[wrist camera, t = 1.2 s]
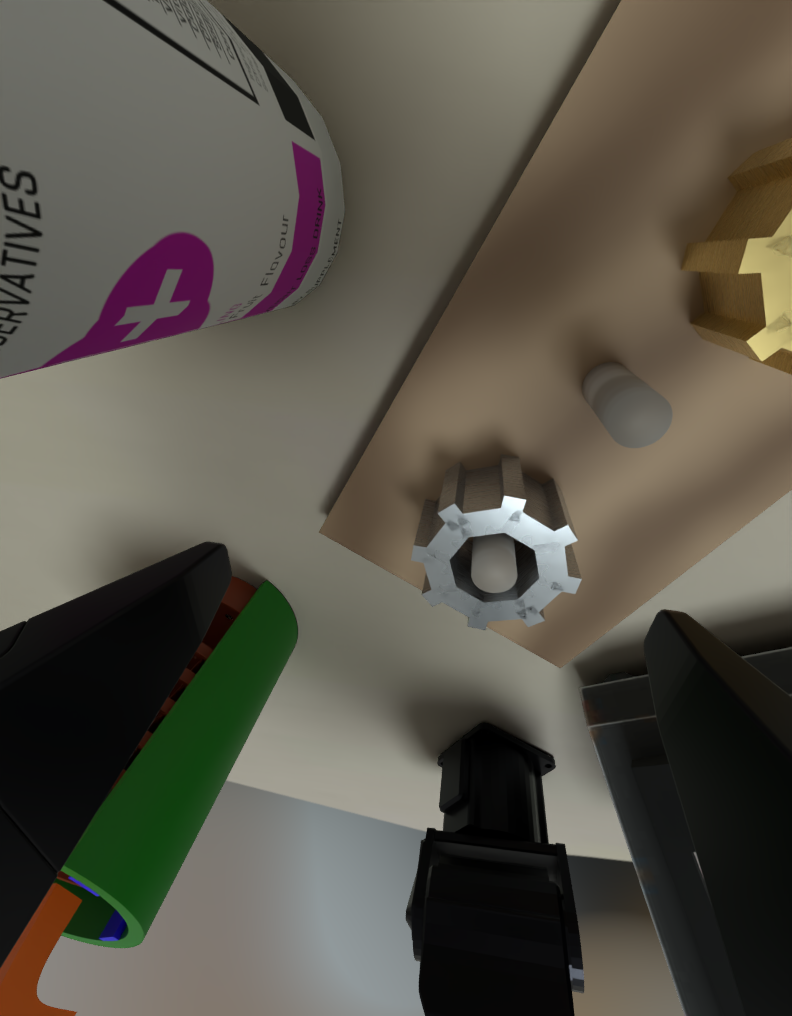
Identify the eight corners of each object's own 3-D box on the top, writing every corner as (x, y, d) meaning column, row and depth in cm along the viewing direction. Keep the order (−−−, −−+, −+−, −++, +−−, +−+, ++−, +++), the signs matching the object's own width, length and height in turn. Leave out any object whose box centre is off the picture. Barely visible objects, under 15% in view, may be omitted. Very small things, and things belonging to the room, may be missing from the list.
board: (1046, 247, 14) (1362, 241, 9) (556, 647, 26) (573, 739, 21) (660, -67, 12) (783, -296, 7) (328, 517, 25) (286, 584, 20)
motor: (231, 545, 27) (-198, 1026, 10) (327, 635, 30) (113, 1142, 13) (150, 607, 32) (-242, 1014, 15) (239, 681, 34) (-5, 1101, 17)
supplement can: (372, 284, 18) (112, 343, 6) (209, 328, 21) (-246, 442, 8) (312, 22, 15) (-853, -1557, 2) (121, 109, 17) (-1014, -352, 4)
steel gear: (595, 504, 20) (618, 556, 16) (507, 592, 23) (510, 650, 20) (474, 429, 19) (472, 467, 16) (401, 531, 22) (386, 581, 19)
